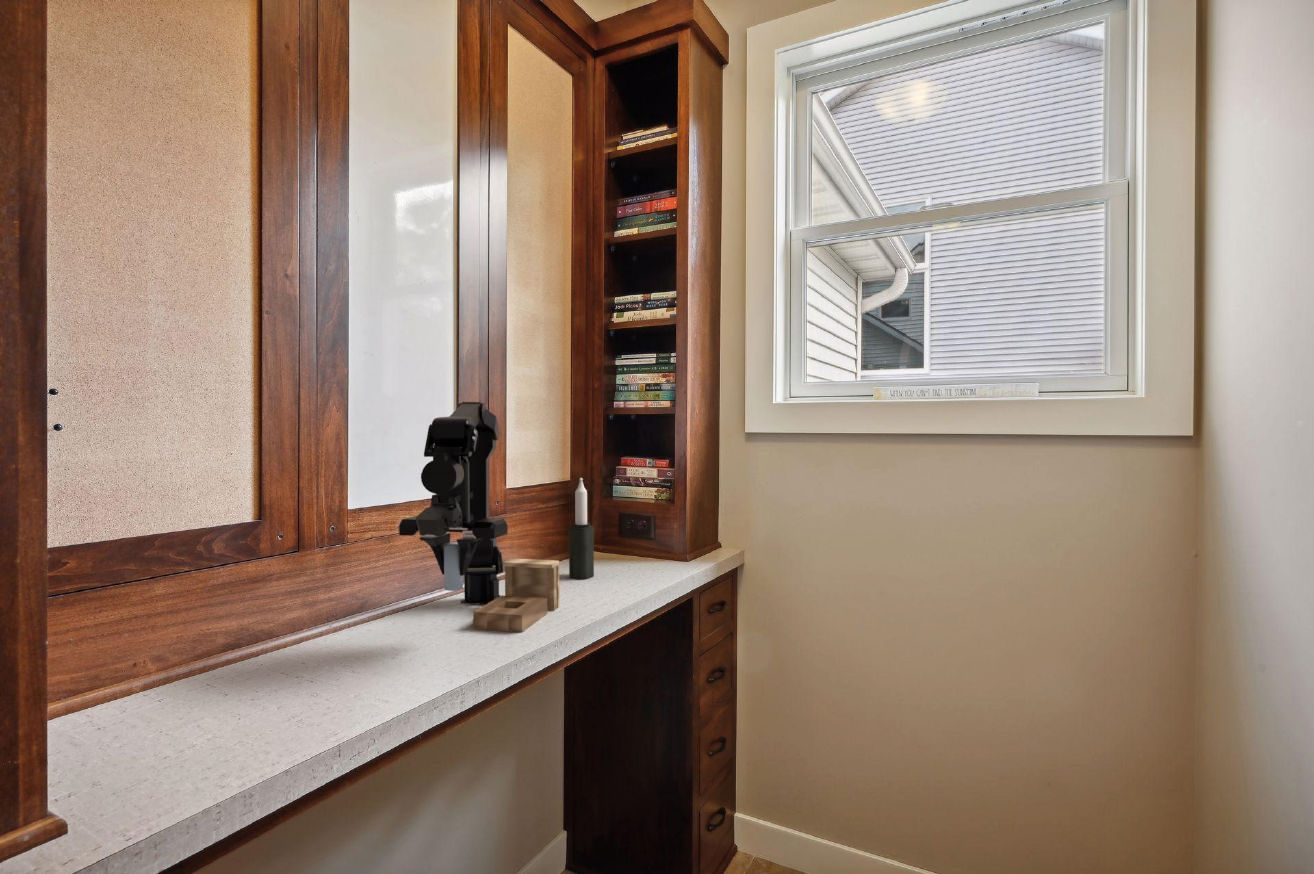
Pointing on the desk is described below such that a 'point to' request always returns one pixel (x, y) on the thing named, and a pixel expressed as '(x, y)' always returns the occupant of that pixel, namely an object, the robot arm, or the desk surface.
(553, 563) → the socket station
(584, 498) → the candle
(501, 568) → the robot arm
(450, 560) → the peg
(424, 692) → the desk surface
